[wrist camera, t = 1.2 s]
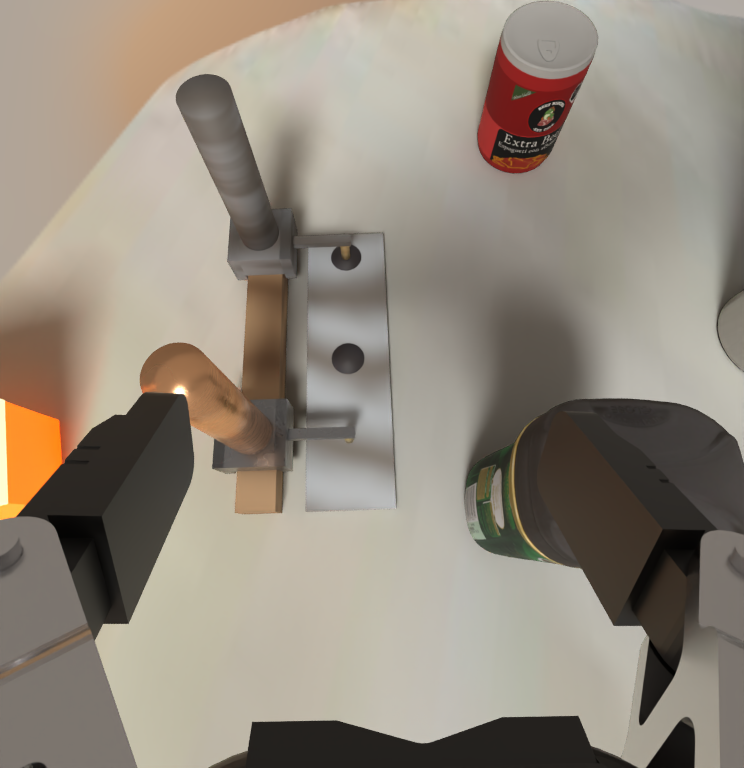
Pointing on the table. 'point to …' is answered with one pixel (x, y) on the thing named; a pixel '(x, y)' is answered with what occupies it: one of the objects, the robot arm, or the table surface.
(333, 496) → the grey metal fixture
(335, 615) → the table surface
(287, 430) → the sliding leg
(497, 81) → the canned food
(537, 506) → the coffee jar
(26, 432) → the orange juice
